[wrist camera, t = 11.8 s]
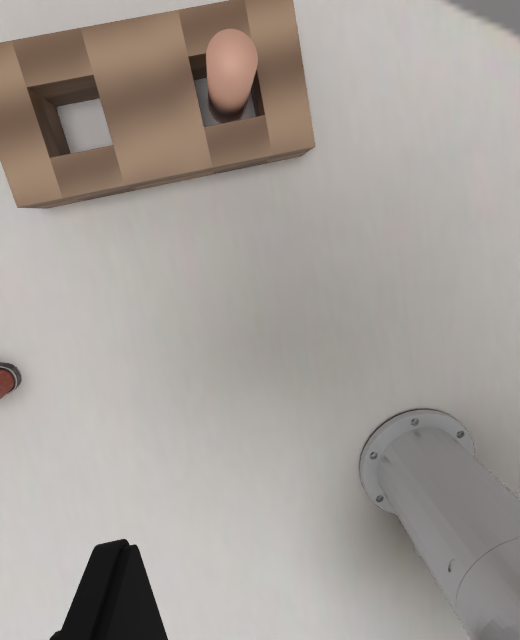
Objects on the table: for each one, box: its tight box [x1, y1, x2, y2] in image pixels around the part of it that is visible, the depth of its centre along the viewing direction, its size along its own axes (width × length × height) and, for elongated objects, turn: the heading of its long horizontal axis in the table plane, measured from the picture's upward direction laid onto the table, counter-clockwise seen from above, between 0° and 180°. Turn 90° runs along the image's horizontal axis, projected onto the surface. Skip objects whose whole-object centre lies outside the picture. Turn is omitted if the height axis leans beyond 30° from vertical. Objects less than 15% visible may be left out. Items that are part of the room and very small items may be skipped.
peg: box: [206, 29, 258, 124], centre depth 28 cm, size 3×3×10 cm
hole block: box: [0, 0, 315, 208], centre depth 30 cm, size 10×22×5 cm, turn 101°
